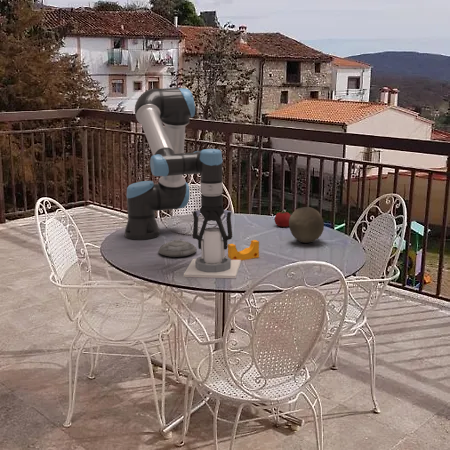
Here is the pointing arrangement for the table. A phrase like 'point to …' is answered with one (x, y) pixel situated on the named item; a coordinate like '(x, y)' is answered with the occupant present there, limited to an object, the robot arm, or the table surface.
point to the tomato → (282, 219)
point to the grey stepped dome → (177, 248)
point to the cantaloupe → (306, 224)
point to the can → (212, 245)
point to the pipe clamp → (244, 251)
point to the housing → (213, 268)
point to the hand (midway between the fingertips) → (213, 257)
